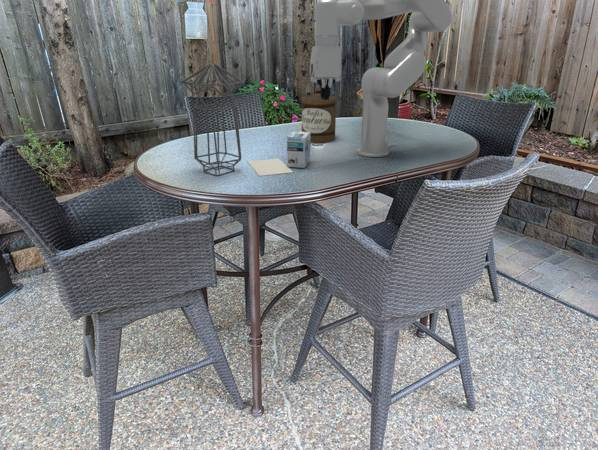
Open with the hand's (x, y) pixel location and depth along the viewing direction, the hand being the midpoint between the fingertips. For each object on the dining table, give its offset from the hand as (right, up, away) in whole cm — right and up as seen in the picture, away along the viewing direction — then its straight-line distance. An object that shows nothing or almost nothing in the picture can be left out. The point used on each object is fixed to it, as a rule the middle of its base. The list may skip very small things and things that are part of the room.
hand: (325, 99), depth 149 cm
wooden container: (0, -6, +42) cm, 42 cm away
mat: (-20, -23, +3) cm, 31 cm away
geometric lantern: (-36, -25, 0) cm, 44 cm away
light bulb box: (-9, -22, +6) cm, 25 cm away
